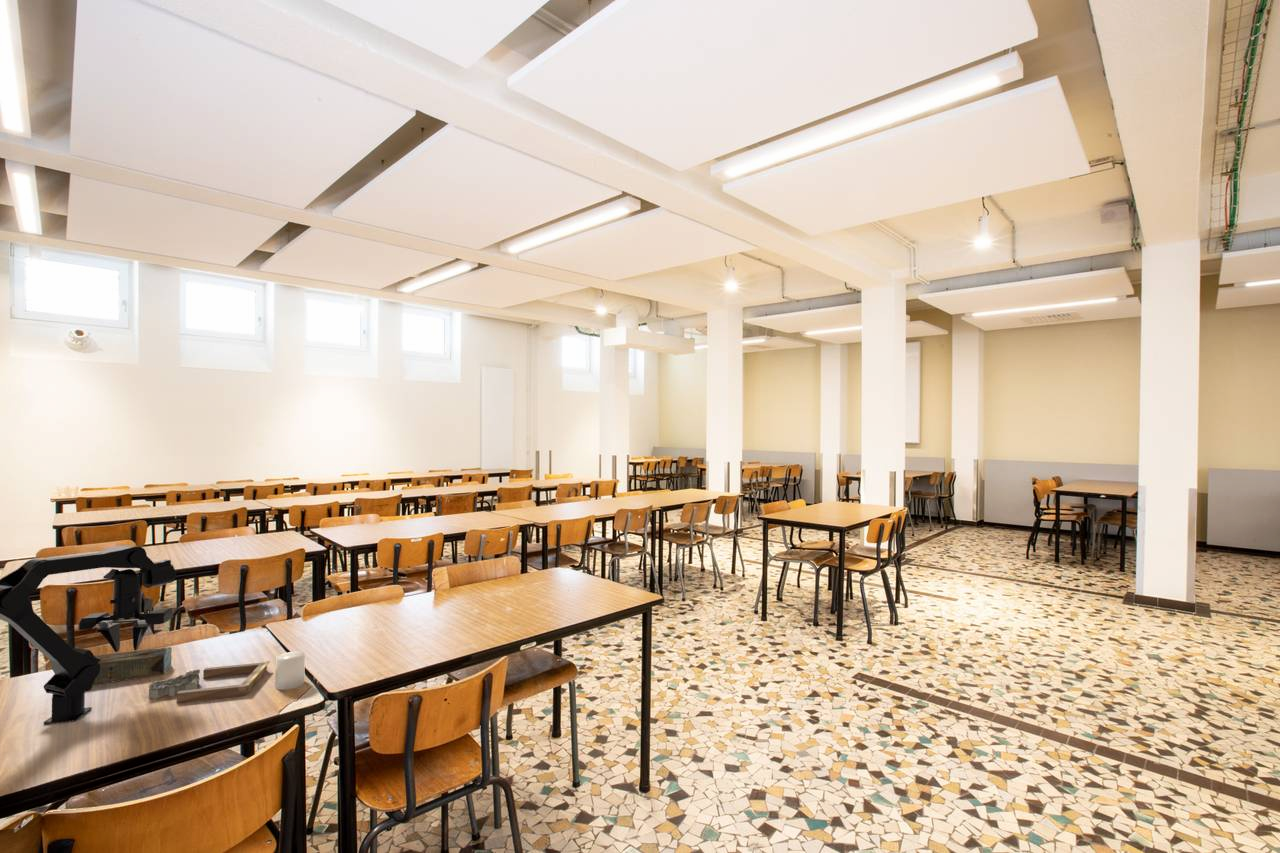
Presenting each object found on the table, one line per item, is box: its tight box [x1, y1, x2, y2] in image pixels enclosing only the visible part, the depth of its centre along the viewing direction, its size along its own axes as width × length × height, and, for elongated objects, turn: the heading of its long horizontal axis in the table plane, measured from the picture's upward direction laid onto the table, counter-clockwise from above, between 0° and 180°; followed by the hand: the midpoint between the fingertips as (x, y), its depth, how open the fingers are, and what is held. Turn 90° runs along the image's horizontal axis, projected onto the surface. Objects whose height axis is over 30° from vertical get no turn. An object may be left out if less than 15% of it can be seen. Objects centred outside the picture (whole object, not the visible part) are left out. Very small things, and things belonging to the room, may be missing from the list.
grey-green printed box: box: [93, 646, 173, 685], centre depth 166 cm, size 8×19×7 cm, turn 117°
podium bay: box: [176, 660, 271, 704], centre depth 160 cm, size 17×16×3 cm
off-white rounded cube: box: [274, 650, 306, 691], centre depth 161 cm, size 7×7×8 cm
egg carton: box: [148, 669, 201, 700], centre depth 157 cm, size 11×8×4 cm
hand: (126, 650), depth 154 cm, fingers open, 4 cm apart
